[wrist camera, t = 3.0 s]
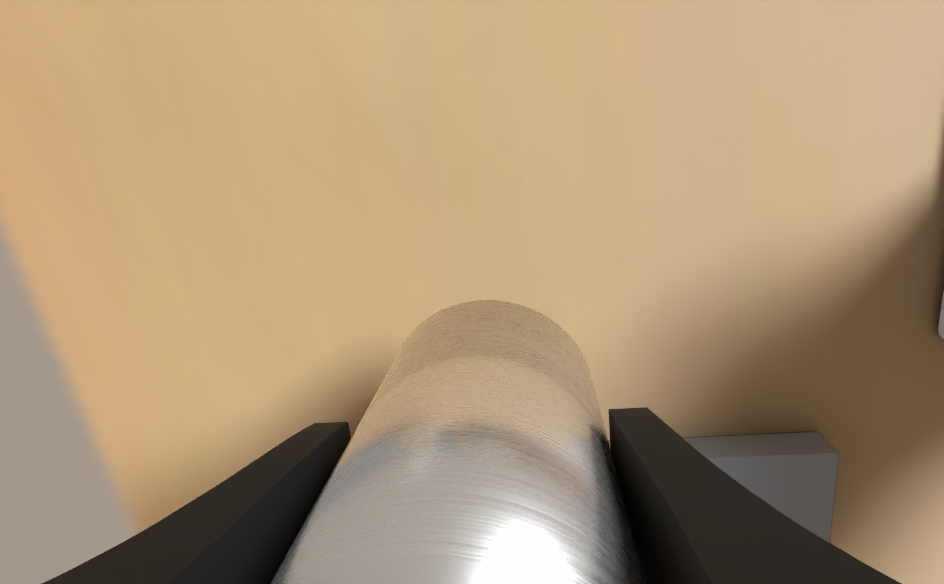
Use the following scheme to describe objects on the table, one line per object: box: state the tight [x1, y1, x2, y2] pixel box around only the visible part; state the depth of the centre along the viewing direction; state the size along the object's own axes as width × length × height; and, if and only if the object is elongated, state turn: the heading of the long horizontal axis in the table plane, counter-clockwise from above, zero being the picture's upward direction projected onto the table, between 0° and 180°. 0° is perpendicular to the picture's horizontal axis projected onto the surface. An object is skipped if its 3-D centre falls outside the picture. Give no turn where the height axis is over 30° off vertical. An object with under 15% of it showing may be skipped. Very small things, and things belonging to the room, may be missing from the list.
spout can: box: [271, 300, 646, 584], centre depth 8 cm, size 4×4×8 cm
